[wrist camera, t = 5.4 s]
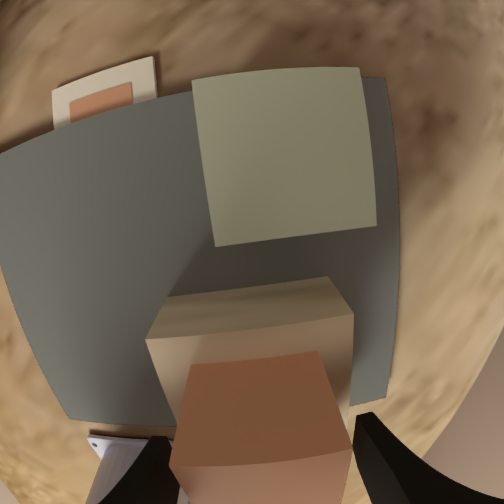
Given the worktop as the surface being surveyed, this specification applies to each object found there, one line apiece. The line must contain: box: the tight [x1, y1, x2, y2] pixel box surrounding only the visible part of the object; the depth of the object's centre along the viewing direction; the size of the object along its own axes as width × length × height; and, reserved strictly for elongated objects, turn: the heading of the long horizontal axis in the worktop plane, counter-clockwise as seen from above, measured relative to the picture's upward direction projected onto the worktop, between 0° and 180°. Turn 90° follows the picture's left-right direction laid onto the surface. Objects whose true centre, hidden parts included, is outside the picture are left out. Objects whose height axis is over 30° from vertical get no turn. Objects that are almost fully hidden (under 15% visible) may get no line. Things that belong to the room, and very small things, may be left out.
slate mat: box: [0, 77, 400, 426], centre depth 15 cm, size 19×23×1 cm
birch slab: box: [145, 276, 354, 430], centre depth 14 cm, size 8×8×4 cm
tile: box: [52, 56, 158, 130], centre depth 13 cm, size 6×6×1 cm
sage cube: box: [191, 67, 377, 247], centre depth 11 cm, size 5×5×5 cm
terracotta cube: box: [169, 351, 353, 504], centre depth 10 cm, size 5×5×5 cm
